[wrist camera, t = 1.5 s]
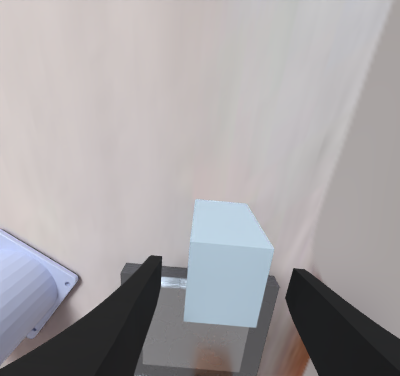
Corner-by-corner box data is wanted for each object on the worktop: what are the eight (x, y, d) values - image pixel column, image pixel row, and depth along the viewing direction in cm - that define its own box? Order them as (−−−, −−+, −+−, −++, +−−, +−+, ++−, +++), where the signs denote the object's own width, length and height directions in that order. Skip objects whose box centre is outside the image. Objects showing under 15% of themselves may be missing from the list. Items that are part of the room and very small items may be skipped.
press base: (242, 404, 21) (246, 428, 20) (130, 394, 21) (123, 417, 20) (274, 275, 16) (282, 292, 15) (126, 263, 16) (117, 278, 14)
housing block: (237, 257, 16) (255, 327, 10) (190, 253, 16) (183, 321, 10) (246, 203, 15) (274, 249, 9) (195, 198, 15) (190, 241, 9)
